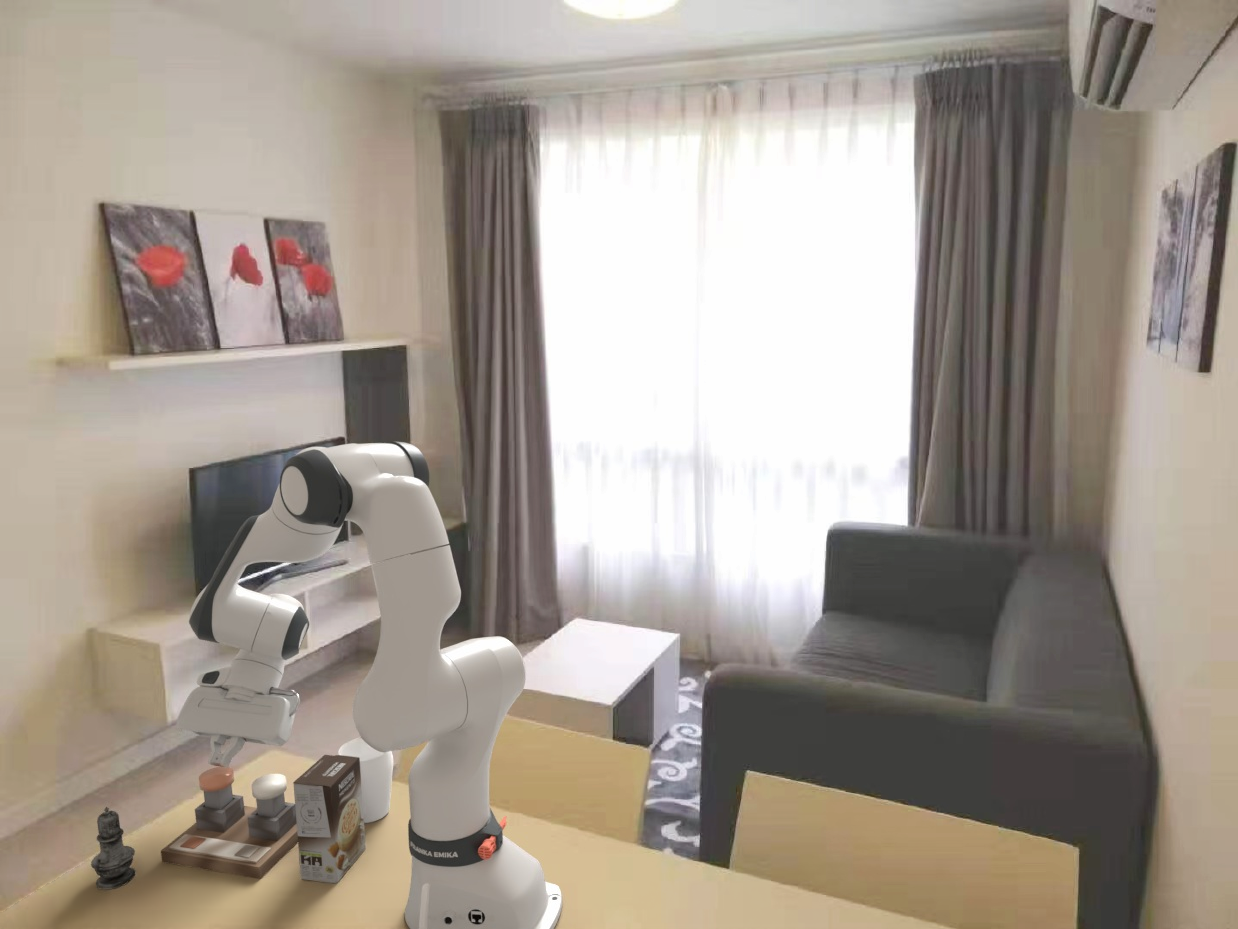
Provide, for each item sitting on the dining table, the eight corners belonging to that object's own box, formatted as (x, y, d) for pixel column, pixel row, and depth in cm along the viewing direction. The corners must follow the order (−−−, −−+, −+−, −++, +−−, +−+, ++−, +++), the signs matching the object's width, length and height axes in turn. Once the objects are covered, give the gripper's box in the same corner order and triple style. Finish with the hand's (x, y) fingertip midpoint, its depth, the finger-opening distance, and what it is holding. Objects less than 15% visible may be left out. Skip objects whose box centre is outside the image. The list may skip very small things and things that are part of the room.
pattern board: (313, 826, 148) (311, 797, 147) (260, 879, 134) (257, 846, 133) (222, 813, 152) (219, 783, 151) (161, 862, 139) (158, 830, 138)
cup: (381, 792, 158) (376, 730, 156) (406, 812, 151) (401, 748, 149) (333, 812, 152) (328, 748, 150) (357, 834, 145) (352, 767, 143)
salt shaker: (118, 893, 132) (108, 820, 129) (84, 888, 133) (74, 816, 131) (146, 868, 137) (137, 798, 135) (113, 864, 138) (104, 794, 136)
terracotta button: (243, 797, 147) (240, 768, 146) (222, 814, 142) (218, 785, 141) (216, 793, 148) (213, 765, 148) (194, 810, 143) (191, 781, 143)
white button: (295, 804, 145) (292, 775, 144) (275, 822, 140) (272, 792, 139) (267, 800, 146) (265, 772, 145) (247, 818, 141) (244, 788, 140)
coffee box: (338, 885, 133) (330, 787, 130) (299, 880, 134) (291, 783, 131) (367, 848, 141) (360, 756, 139) (331, 844, 143) (323, 753, 140)
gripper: (312, 697, 152) (281, 778, 145) (211, 686, 157) (177, 764, 150) (294, 684, 147) (262, 767, 140) (191, 673, 152) (155, 752, 145)
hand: (217, 765), depth 145 cm, fingers closed
